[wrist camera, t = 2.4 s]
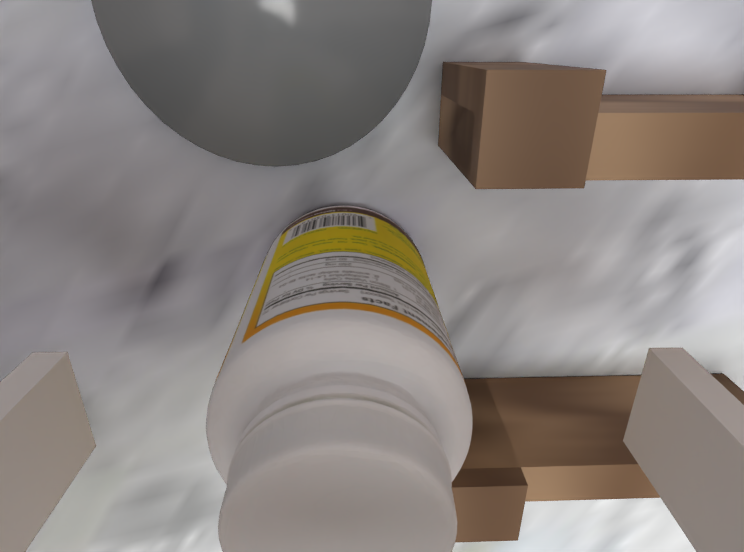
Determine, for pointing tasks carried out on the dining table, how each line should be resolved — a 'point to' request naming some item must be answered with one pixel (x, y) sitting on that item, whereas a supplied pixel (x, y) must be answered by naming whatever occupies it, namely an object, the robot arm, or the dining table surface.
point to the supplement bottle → (340, 397)
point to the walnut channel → (565, 170)
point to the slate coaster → (267, 69)
